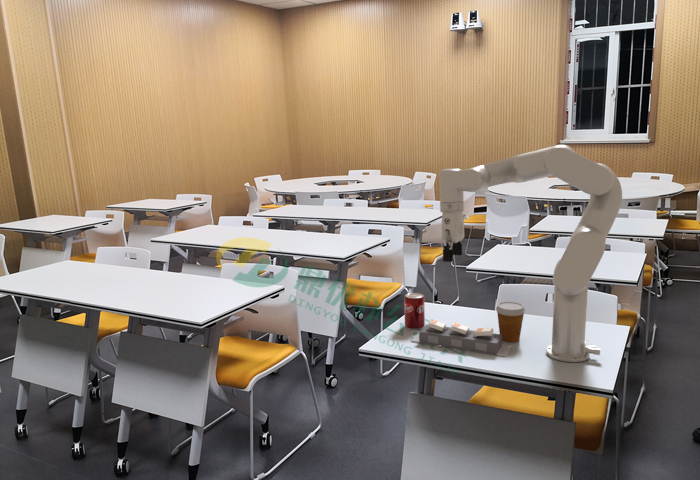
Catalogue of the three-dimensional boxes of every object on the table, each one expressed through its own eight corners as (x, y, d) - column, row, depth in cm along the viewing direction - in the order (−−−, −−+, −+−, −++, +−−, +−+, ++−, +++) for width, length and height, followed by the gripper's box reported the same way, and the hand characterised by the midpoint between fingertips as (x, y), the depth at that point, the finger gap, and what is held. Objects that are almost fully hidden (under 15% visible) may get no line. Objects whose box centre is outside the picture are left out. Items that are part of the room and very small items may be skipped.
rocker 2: (468, 330, 181) (469, 327, 180) (465, 334, 178) (466, 330, 177) (454, 326, 183) (455, 322, 182) (451, 329, 180) (451, 325, 179)
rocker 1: (445, 327, 184) (446, 323, 184) (442, 331, 181) (442, 327, 181) (431, 322, 187) (432, 319, 186) (428, 326, 183) (428, 322, 183)
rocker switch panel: (511, 347, 177) (511, 335, 176) (506, 356, 170) (506, 344, 169) (419, 333, 192) (419, 322, 191) (410, 341, 185) (410, 330, 184)
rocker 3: (493, 331, 177) (492, 327, 177) (490, 335, 174) (490, 330, 174) (478, 332, 179) (477, 328, 179) (475, 336, 176) (474, 331, 176)
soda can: (424, 323, 202) (424, 292, 200) (425, 330, 195) (424, 298, 193) (404, 323, 203) (404, 292, 201) (404, 330, 196) (404, 298, 194)
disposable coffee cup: (489, 337, 186) (489, 304, 184) (510, 332, 191) (511, 299, 188) (509, 346, 178) (510, 311, 176) (530, 341, 182) (531, 306, 180)
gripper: (454, 210, 167) (455, 264, 170) (470, 203, 182) (471, 253, 185) (431, 210, 171) (433, 263, 174) (449, 203, 186) (450, 252, 189)
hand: (452, 258), depth 180 cm, fingers open, 9 cm apart
